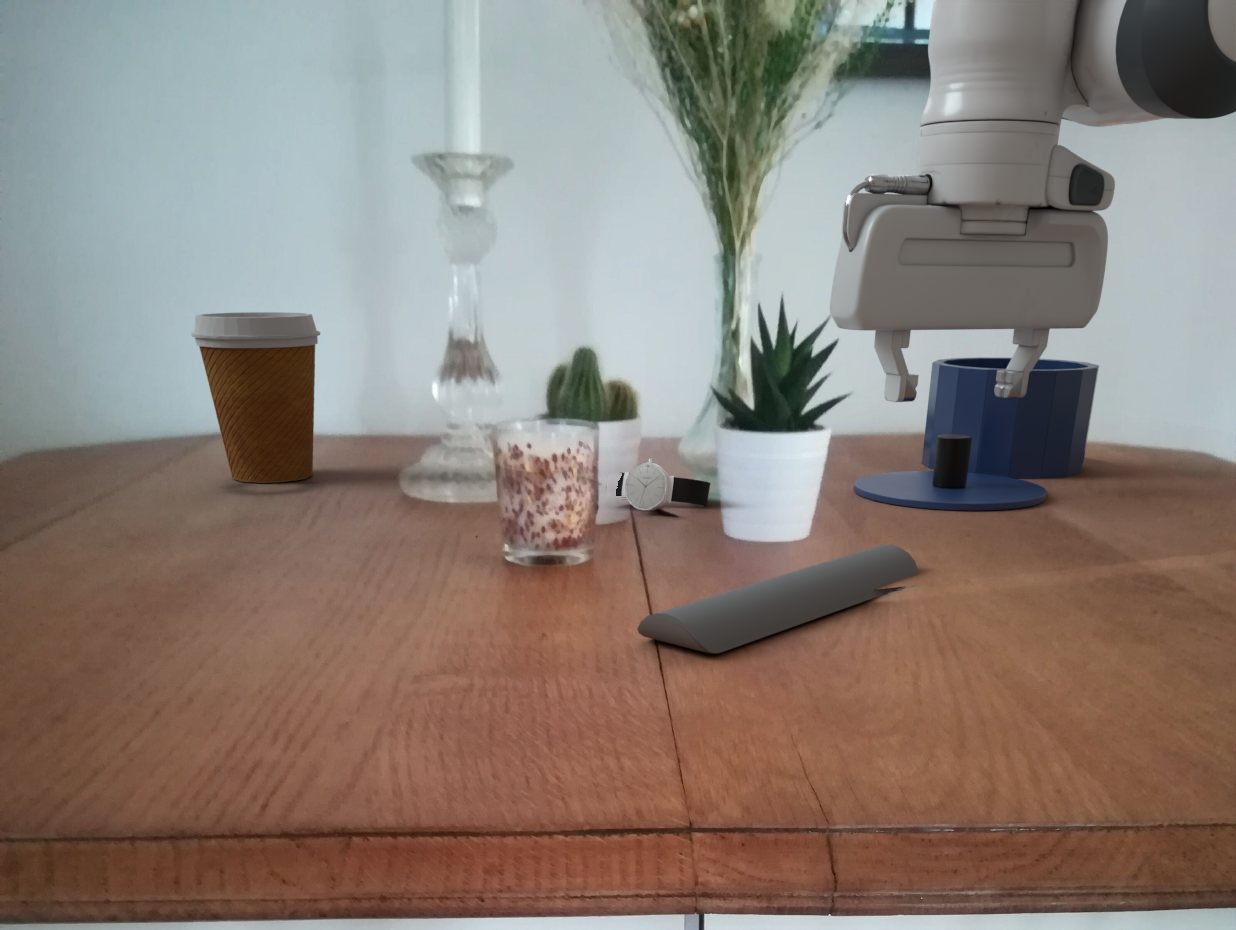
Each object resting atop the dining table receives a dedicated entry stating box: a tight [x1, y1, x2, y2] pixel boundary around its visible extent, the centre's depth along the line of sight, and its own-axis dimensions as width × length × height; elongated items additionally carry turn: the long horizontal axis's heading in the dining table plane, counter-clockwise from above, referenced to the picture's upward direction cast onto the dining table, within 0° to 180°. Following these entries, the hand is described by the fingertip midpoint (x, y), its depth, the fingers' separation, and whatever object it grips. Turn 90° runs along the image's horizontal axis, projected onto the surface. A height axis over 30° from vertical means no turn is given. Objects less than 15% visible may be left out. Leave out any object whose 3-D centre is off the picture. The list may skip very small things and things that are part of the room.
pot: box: [921, 356, 1100, 480], centre depth 99 cm, size 13×13×8 cm
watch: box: [616, 458, 711, 513], centre depth 85 cm, size 8×5×4 cm, turn 63°
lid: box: [853, 434, 1048, 512], centre depth 88 cm, size 14×14×5 cm
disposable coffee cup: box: [190, 311, 321, 484], centre depth 95 cm, size 10×10×12 cm
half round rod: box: [637, 544, 919, 654], centre depth 61 cm, size 4×20×2 cm, turn 138°
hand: (955, 399), depth 86 cm, fingers open, 8 cm apart
